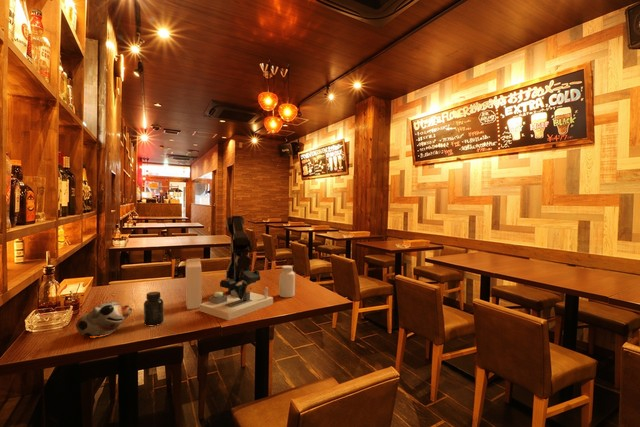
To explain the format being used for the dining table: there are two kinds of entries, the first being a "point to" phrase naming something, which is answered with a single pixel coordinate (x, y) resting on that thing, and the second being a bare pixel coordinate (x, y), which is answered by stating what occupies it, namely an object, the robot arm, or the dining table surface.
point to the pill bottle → (287, 282)
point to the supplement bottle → (153, 309)
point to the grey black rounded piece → (103, 319)
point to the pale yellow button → (218, 294)
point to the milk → (193, 283)
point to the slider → (246, 295)
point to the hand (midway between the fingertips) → (241, 299)
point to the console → (235, 305)
